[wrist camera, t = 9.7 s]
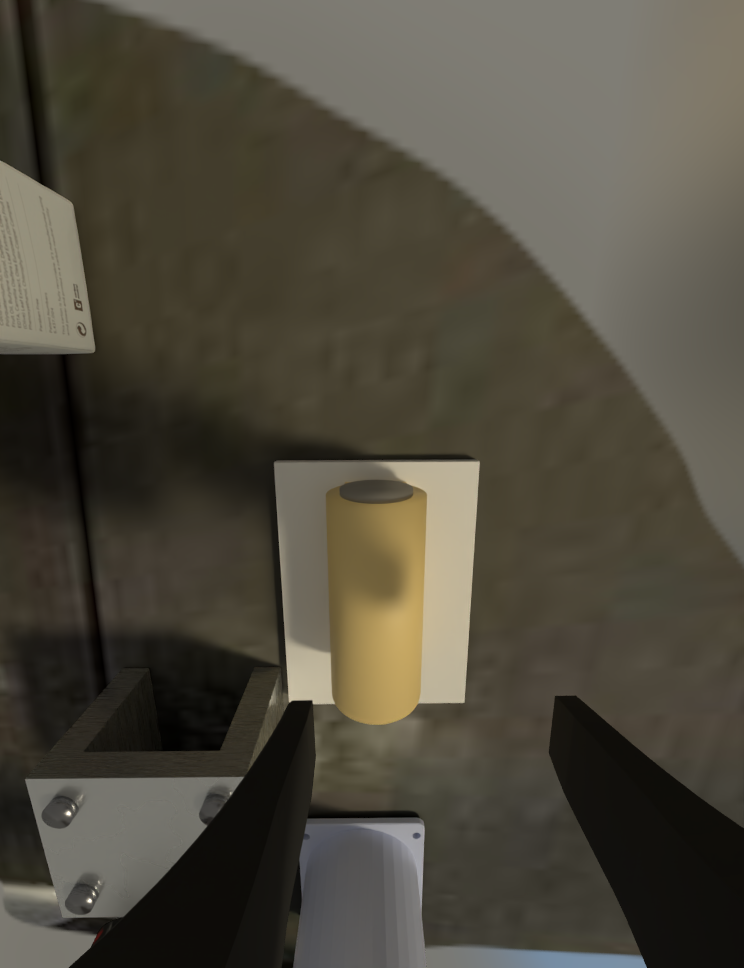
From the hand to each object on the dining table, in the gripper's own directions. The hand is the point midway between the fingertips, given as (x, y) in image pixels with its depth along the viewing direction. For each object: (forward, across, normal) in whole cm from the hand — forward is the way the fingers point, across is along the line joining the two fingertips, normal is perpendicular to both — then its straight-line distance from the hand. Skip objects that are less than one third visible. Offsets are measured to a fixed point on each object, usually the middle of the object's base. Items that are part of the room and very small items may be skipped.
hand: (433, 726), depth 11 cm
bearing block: (+10, +12, +10) cm, 18 cm away
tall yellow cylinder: (+9, +2, 0) cm, 9 cm away
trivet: (+10, +2, +1) cm, 10 cm away
